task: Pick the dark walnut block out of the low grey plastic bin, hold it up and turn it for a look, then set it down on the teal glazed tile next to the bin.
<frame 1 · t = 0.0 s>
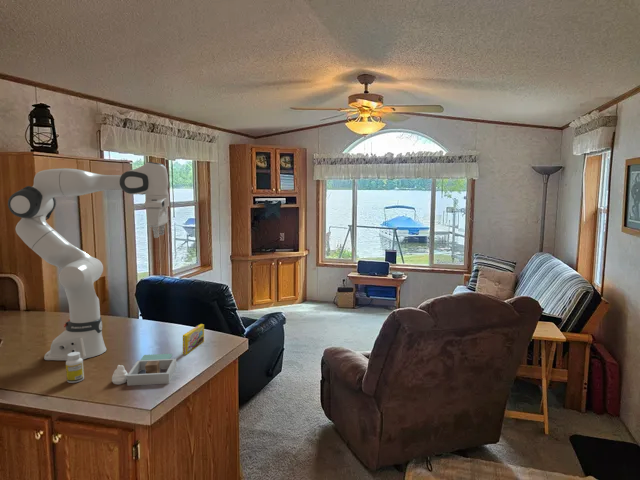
hand: (159, 236, 187), 48 cm above the worktop, tool pointing down, fingers open, 8 cm apart
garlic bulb: (120, 382, 161), on the worktop
teal tile: (155, 361, 179), on the worktop
supplement bottle: (75, 380, 162), on the worktop
grey bin: (153, 376, 165), on the worktop
candy box: (194, 348, 194), on the worktop
walnut block: (152, 369, 165), in the grey bin
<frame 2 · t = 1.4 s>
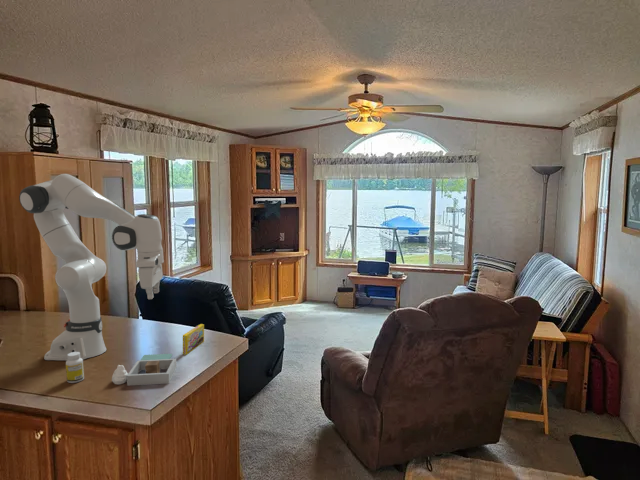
hand: (153, 295, 168), 28 cm above the worktop, tool pointing down, fingers open, 8 cm apart
nothing on the worktop moved.
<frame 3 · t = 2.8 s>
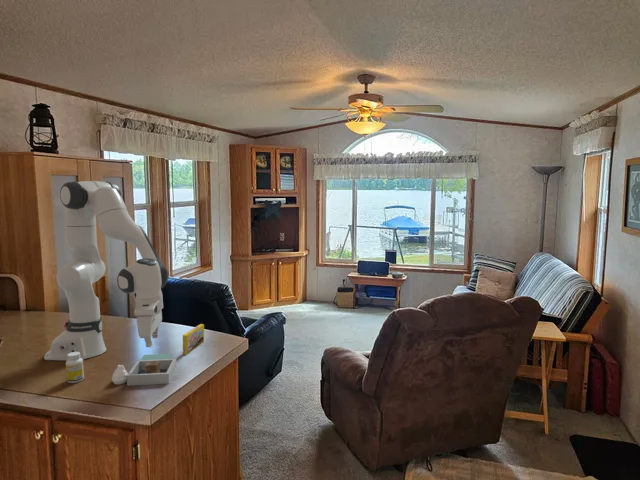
hand: (152, 342, 164), 13 cm above the worktop, tool pointing down, fingers open, 8 cm apart
nothing on the worktop moved.
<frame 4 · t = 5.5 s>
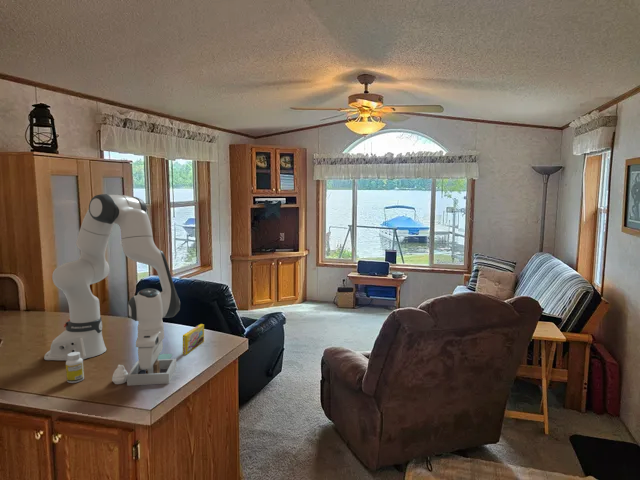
hand: (152, 371, 165), 2 cm above the worktop, tool pointing down, fingers closed on walnut block, 4 cm apart
walnut block: (152, 369, 165), in the grey bin, touching gripper
everything else where it was.
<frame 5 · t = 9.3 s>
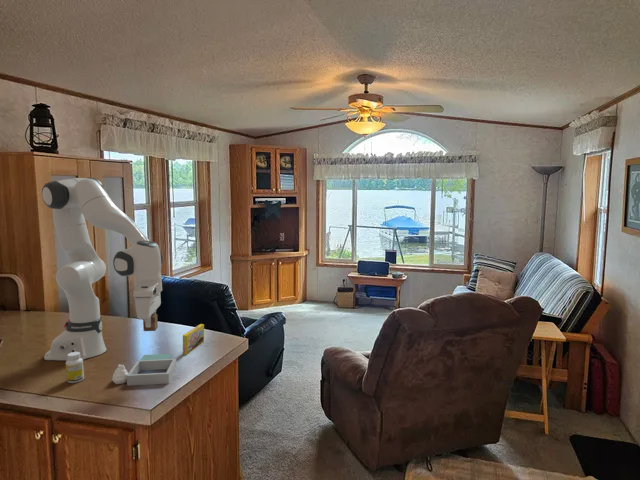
hand: (150, 324, 163), 19 cm above the worktop, tool pointing down, fingers closed on walnut block, 4 cm apart
walnut block: (150, 322, 163), point 20 cm above the worktop, touching gripper
everything else where it was.
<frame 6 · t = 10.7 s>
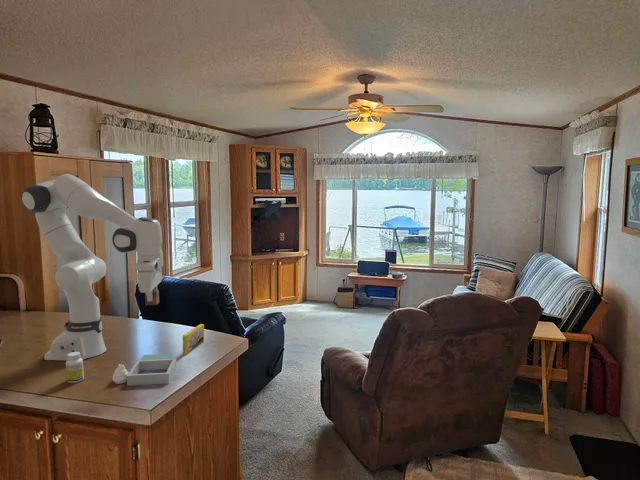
hand: (152, 299, 168), 27 cm above the worktop, tool pointing down, fingers closed on walnut block, 4 cm apart
walnut block: (152, 297, 168), point 28 cm above the worktop, touching gripper
everything else where it was.
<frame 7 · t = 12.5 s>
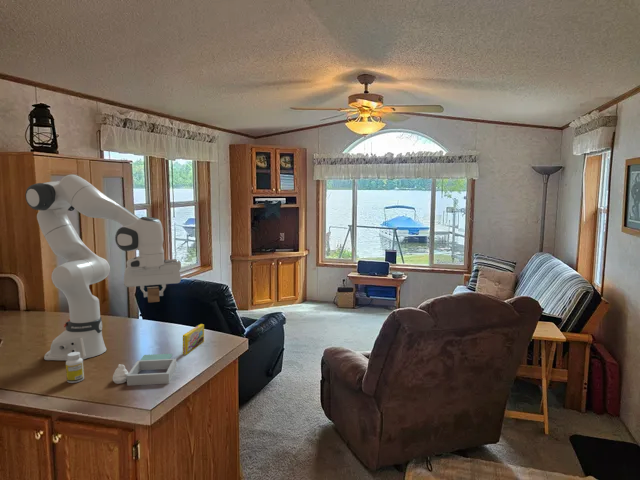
hand: (153, 296, 173), 27 cm above the worktop, tool pointing down, fingers closed on walnut block, 4 cm apart
walnut block: (153, 294, 173), point 28 cm above the worktop, touching gripper
everything else where it was.
when the fingers open (4 cm above the worktop, at t = 18.0 s): walnut block drops 2 cm, resting on teal tile.
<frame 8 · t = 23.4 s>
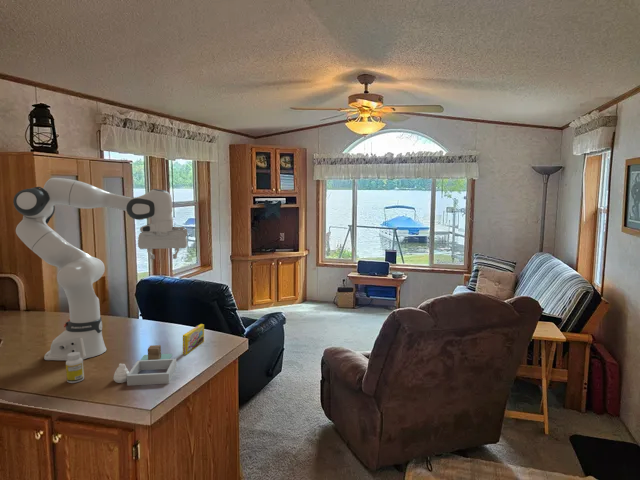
hand: (163, 258, 198), 37 cm above the worktop, tool pointing down, fingers open, 8 cm apart
walnut block: (154, 353, 179), on the teal tile, point 3 cm above the worktop
at the end: walnut block inside the target area on the teal tile (0.1 cm from its centre), point 3.3 cm above the teal tile's base; walnut block touching teal tile; the gripper is holding nothing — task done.
